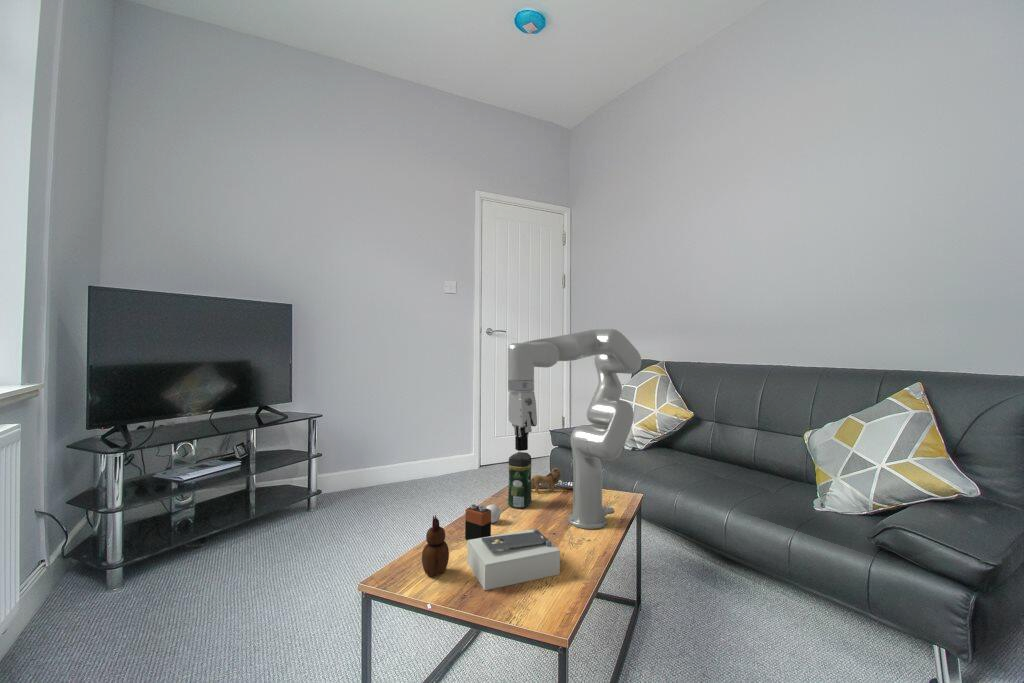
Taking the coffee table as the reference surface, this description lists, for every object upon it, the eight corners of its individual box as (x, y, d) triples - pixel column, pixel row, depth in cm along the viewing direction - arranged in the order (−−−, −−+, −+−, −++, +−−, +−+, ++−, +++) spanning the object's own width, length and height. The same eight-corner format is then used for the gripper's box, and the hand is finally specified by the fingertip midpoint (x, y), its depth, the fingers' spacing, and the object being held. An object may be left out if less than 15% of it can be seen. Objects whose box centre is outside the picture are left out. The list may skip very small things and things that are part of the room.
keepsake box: (535, 550, 122) (535, 522, 122) (559, 574, 109) (559, 543, 110) (467, 562, 115) (467, 533, 115) (484, 590, 102) (485, 556, 102)
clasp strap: (538, 534, 118) (539, 530, 118) (549, 543, 113) (549, 539, 113) (481, 541, 112) (481, 536, 112) (489, 551, 106) (489, 546, 106)
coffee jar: (512, 498, 164) (513, 449, 164) (533, 501, 162) (533, 451, 162) (505, 507, 155) (505, 455, 155) (526, 510, 152) (527, 457, 153)
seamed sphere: (483, 518, 145) (484, 501, 145) (500, 519, 144) (501, 502, 144) (481, 528, 137) (481, 510, 137) (499, 528, 137) (499, 510, 137)
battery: (482, 545, 125) (482, 510, 125) (464, 539, 128) (464, 505, 129) (491, 540, 128) (491, 506, 128) (473, 534, 132) (474, 501, 132)
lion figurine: (557, 487, 178) (557, 465, 178) (563, 492, 173) (563, 469, 173) (524, 491, 173) (524, 469, 173) (529, 495, 168) (530, 472, 168)
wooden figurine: (434, 582, 105) (435, 520, 105) (417, 575, 108) (418, 514, 108) (452, 570, 111) (453, 511, 111) (435, 564, 114) (436, 506, 114)
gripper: (545, 387, 119) (545, 454, 119) (521, 383, 133) (522, 443, 133) (520, 389, 116) (520, 457, 116) (499, 384, 130) (499, 445, 130)
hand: (521, 449), depth 124 cm, fingers closed
